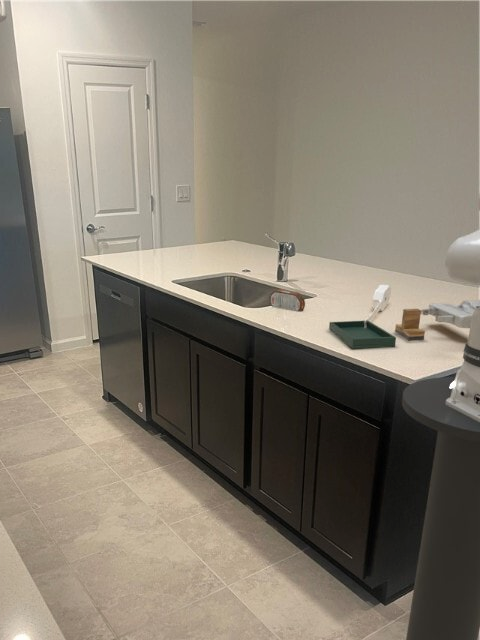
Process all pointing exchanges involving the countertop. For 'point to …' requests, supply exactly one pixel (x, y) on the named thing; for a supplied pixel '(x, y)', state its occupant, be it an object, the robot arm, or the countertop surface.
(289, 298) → the tin
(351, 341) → the tray
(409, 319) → the wooden inverted t block
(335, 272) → the countertop surface
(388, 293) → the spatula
